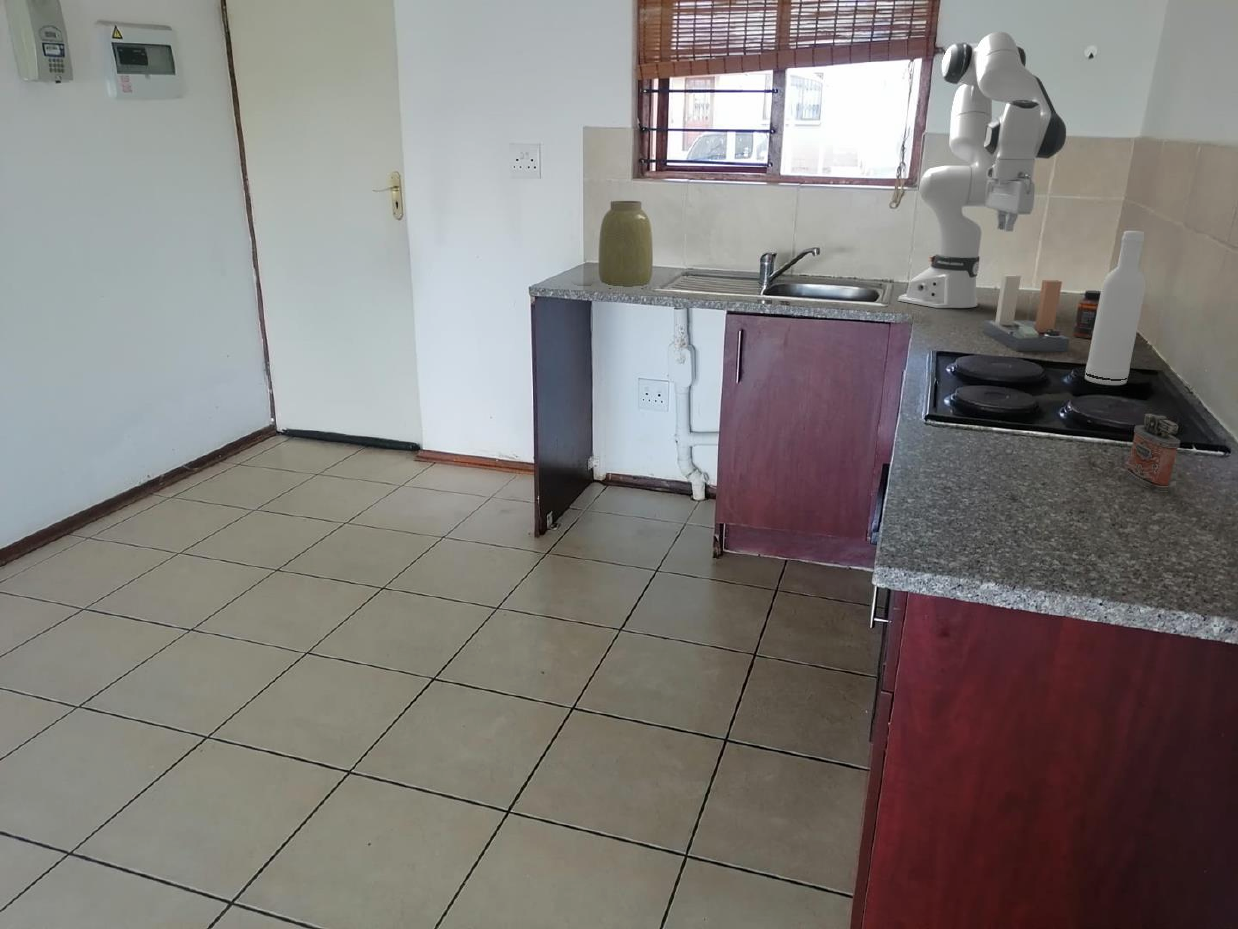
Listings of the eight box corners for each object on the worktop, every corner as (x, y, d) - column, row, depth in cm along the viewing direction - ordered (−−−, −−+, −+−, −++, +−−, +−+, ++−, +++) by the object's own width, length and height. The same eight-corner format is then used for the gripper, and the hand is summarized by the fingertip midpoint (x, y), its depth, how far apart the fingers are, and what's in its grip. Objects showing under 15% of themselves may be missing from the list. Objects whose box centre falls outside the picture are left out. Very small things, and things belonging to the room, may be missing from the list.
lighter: (1119, 472, 137) (1132, 409, 133) (1140, 471, 137) (1154, 408, 134) (1152, 492, 129) (1167, 425, 126) (1175, 491, 130) (1190, 425, 126)
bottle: (1123, 377, 189) (1153, 230, 179) (1130, 387, 182) (1161, 234, 172) (1081, 374, 192) (1108, 228, 181) (1086, 383, 185) (1114, 232, 174)
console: (981, 332, 231) (984, 314, 230) (1028, 332, 232) (1031, 315, 230) (1016, 351, 212) (1019, 332, 210) (1067, 351, 212) (1070, 332, 210)
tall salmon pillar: (1034, 330, 218) (1042, 280, 214) (1048, 330, 218) (1057, 280, 214) (1038, 332, 216) (1047, 281, 212) (1053, 332, 216) (1061, 281, 212)
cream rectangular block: (995, 323, 226) (1002, 274, 222) (1009, 323, 226) (1016, 274, 222) (998, 324, 224) (1006, 276, 220) (1013, 325, 224) (1020, 276, 220)
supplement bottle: (1102, 339, 224) (1111, 293, 220) (1076, 338, 225) (1084, 292, 221) (1095, 334, 229) (1104, 289, 225) (1070, 333, 230) (1078, 288, 226)
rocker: (1018, 330, 214) (1019, 326, 214) (1030, 330, 214) (1032, 326, 214) (1024, 337, 211) (1025, 333, 210) (1037, 337, 211) (1038, 333, 210)
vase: (593, 285, 297) (593, 200, 288) (644, 283, 301) (645, 199, 292) (605, 294, 281) (605, 204, 272) (658, 292, 285) (660, 203, 276)
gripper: (1045, 173, 211) (1035, 234, 215) (1009, 170, 230) (1000, 226, 235) (1018, 173, 210) (1009, 234, 215) (984, 169, 230) (976, 225, 234)
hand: (1004, 230), depth 225 cm, fingers open, 3 cm apart
